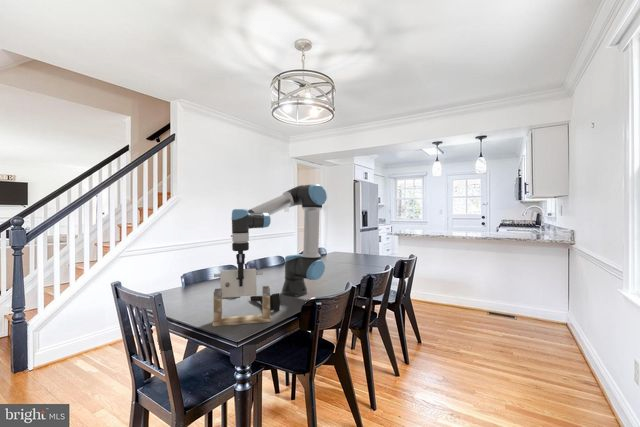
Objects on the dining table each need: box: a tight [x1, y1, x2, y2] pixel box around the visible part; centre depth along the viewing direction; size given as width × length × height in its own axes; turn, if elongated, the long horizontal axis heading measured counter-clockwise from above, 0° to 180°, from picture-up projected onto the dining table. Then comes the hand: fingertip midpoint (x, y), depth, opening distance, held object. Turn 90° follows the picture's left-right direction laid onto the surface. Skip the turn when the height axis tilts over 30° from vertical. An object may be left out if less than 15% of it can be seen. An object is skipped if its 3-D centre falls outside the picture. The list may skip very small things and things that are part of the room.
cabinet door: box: [213, 267, 264, 299], centre depth 144 cm, size 22×5×12 cm, turn 103°
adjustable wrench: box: [249, 293, 281, 312], centre depth 161 cm, size 8×3×25 cm
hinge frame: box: [211, 285, 272, 327], centre depth 138 cm, size 25×6×15 cm, turn 103°
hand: (241, 291), depth 144 cm, fingers closed on cabinet door, 3 cm apart
